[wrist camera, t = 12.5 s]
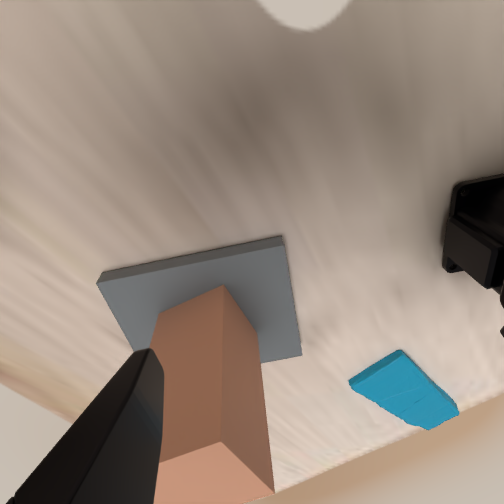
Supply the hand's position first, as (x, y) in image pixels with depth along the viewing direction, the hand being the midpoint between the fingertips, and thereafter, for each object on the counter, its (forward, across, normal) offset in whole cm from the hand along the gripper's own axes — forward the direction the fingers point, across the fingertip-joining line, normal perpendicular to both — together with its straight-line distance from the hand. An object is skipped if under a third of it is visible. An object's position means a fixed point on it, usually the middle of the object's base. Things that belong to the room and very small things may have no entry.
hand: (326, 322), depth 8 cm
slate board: (+12, +6, +9) cm, 16 cm away
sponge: (+12, -9, +23) cm, 28 cm away
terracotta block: (+11, +6, +9) cm, 15 cm away
